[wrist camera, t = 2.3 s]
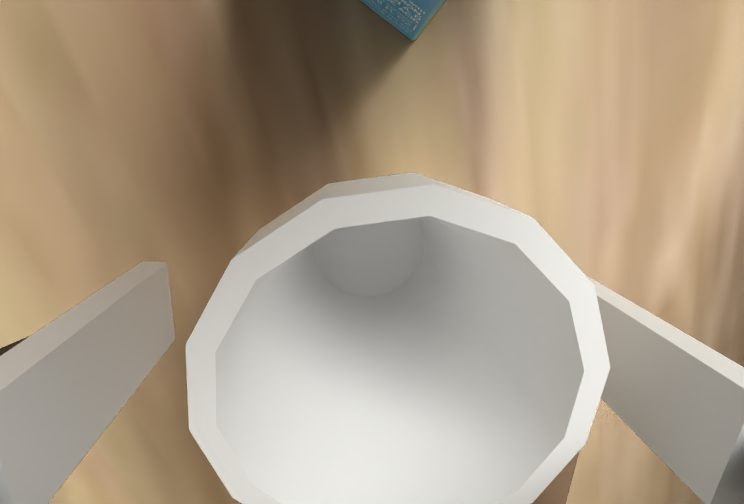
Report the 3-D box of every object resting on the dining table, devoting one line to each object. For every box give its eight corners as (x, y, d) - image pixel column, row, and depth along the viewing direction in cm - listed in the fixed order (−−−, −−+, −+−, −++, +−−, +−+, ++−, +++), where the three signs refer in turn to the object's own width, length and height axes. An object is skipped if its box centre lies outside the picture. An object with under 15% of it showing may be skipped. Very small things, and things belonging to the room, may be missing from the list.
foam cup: (297, 329, 22) (237, 576, 10) (264, 167, 19) (122, 226, 7) (458, 306, 22) (599, 518, 10) (449, 142, 20) (626, 158, 7)
